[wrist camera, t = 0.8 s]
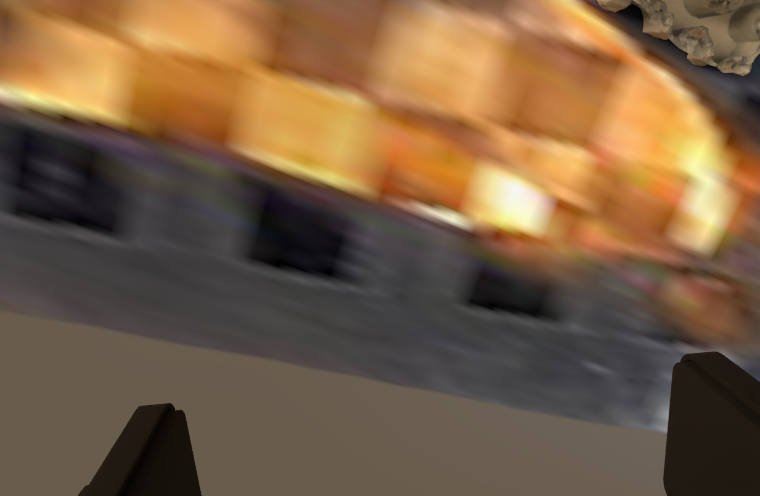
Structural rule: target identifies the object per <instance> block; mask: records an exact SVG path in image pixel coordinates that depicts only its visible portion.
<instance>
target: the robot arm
mask: <svg viewBox="0 0 760 496" xmlns="http://www.w3.org/2000/svg"><path fill="white" fill-rule="evenodd" d="M663 480H664V487H665V491H666V494H667V496H760V382H759V381H757V380H756V379H755V378H753V377H752V376H751V375H749V374H748V373H747V372H745V371H744V370H743V369H741V368H740V367H739V366H737V365H736V364H735V363H733V362H732V361H731V360H729V359H728V358H727V357H725V356H724V355H723V354H721V353H719V352H703V353H693V354H686V355H684V356H683V357H682V359H681V362H679V363H676V364H675V365H674V367H673V373H672V385H671V396H670V408H669V419H668V431H667V442H666V454H665V466H664V477H663ZM78 496H201V491H200V486H199V481H198V476H197V471H196V466H195V462H194V456H193V451H192V446H191V441H190V436H189V431H188V427H187V421H186V417H185V413H184V412H183V411H182V410H176V411H175V408H174V406H173V405H172V404H171V403H167V404H156V405H146V406H139V407H138V408H137V409H136V411H135V412H134V414H133V415H132V417H131V419H130V420H129V422H128V423H127V425H126V427H125V428H124V430H123V431H122V433H121V435H120V436H119V438H118V440H117V441H116V443H115V444H114V446H113V447H112V449H111V451H110V452H109V454H108V455H107V457H106V458H105V460H104V462H103V463H102V465H101V467H100V468H99V470H98V472H97V473H96V475H95V476H94V478H93V479H92V481H91V482H90V484H89V485H87V486H85V487H84V488H83V490H82V491H81V492H80V493H79V495H78Z"/></svg>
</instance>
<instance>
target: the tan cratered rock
mask: <svg viewBox="0 0 760 496" xmlns="http://www.w3.org/2000/svg"><path fill="white" fill-rule="evenodd" d="M597 2H598V4H599V5H600V6H601V7H602V8H603V9H605V10H608V11H613V12H615V13H616V11H618V10H620V9H624V8H626V7H628V6H629V5H630V4H631V3H632V4H635V5H636V6H638V7H639V8H640V9H641V11H642V14H643V17H644V19H643V20H644V26H643V32H644V33H647V34H650V35H652V36H653V37H655V38H661V39H663V40H666V39H670V40H671V41H672V42H673V43H674V44H675V45H676V46H677V47H678V48H679V49H681V50H683V51H685V52H686V53H688V56H687V59H688V60H689V61H690V62H691V63H692V64H693V65H697V66H704V65H707V64H709V65H712V66H715V67H717V68H719V70H720V71H721V72H723V73H730V72H733V73H736V74H740V75H741V76H745V75H746V74H748V73H749V72H750V70H751V68H752V66H751V64H752V62H753V61H754V59H755V58H756V57H757V55H758V54H759V53H760V0H597Z"/></svg>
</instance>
